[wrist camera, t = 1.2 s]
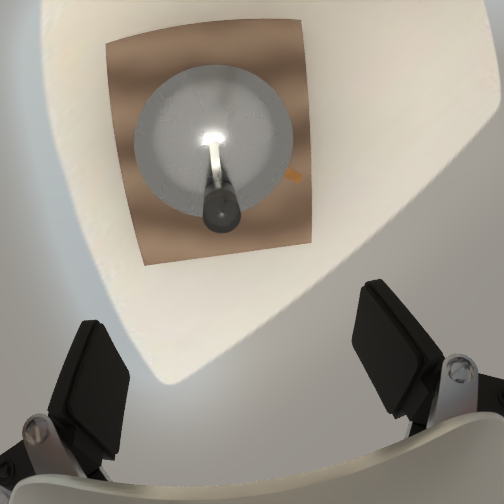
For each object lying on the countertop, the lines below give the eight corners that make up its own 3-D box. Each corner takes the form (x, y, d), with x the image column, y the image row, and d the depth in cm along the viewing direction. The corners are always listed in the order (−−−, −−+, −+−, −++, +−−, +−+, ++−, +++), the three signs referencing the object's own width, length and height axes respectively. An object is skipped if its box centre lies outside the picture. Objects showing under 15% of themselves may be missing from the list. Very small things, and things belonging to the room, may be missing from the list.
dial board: (112, 47, 18) (105, 43, 16) (294, 25, 20) (301, 19, 18) (147, 256, 29) (144, 266, 27) (305, 234, 30) (311, 243, 28)
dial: (129, 82, 19) (103, 74, 13) (283, 62, 20) (307, 48, 14) (152, 222, 25) (137, 254, 19) (292, 203, 26) (314, 230, 20)
